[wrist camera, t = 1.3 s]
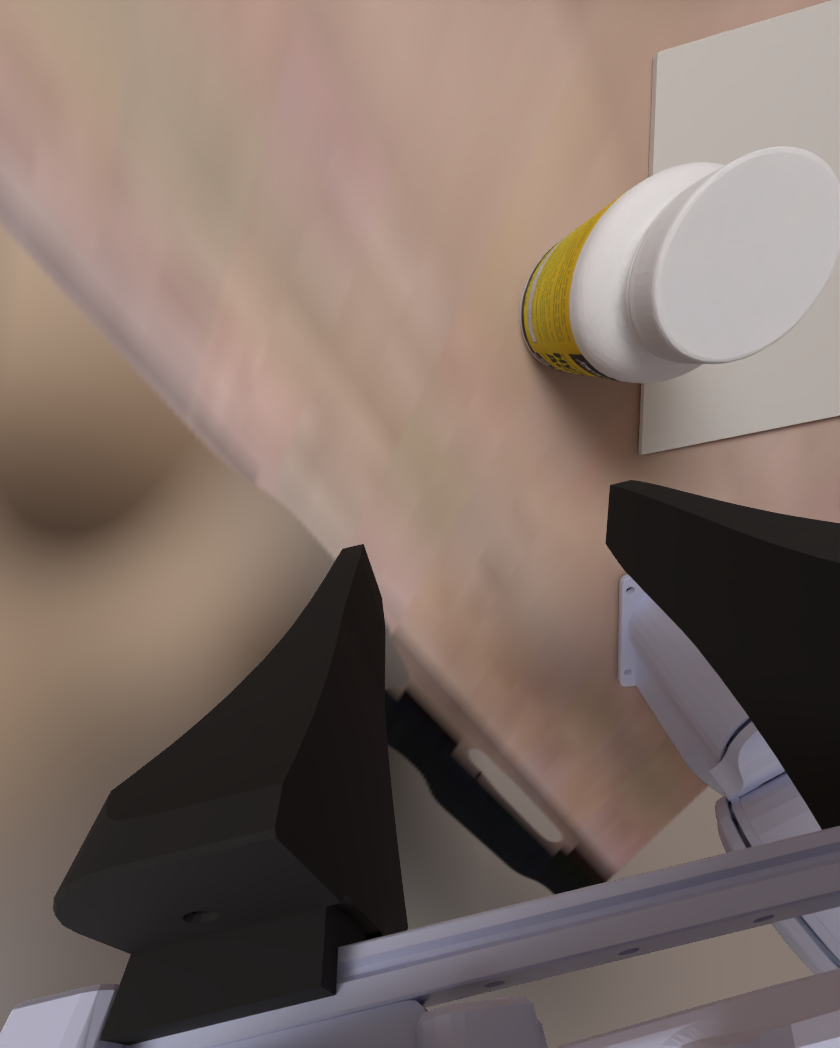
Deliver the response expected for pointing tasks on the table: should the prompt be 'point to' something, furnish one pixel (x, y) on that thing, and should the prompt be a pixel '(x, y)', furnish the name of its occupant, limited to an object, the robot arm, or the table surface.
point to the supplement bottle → (687, 269)
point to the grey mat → (721, 137)
